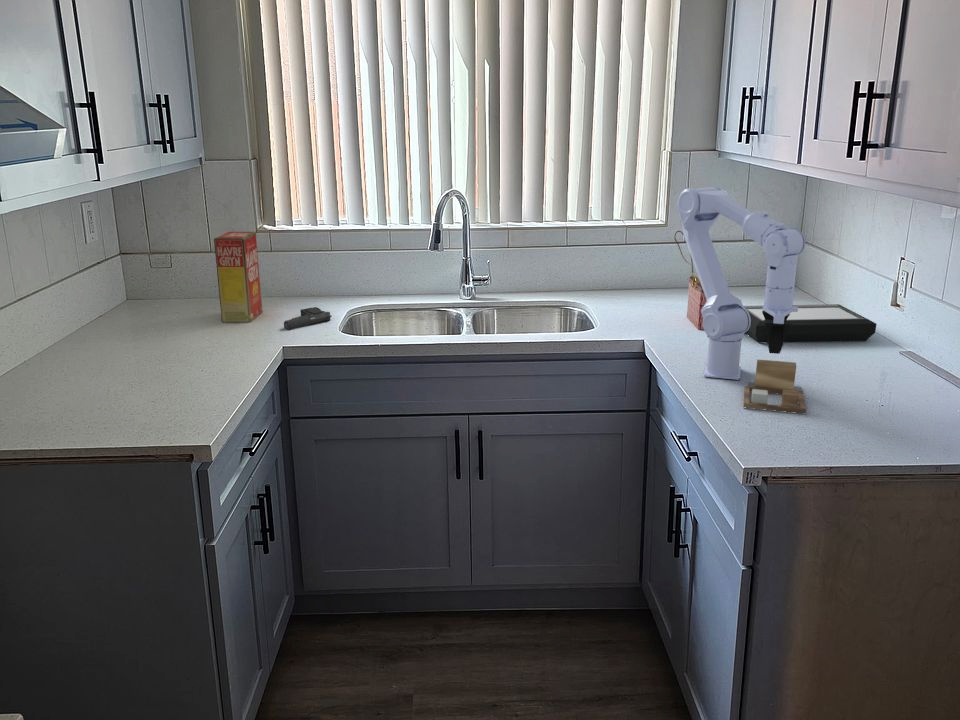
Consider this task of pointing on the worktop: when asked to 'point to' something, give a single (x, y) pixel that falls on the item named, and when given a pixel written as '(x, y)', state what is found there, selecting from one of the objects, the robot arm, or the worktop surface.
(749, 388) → the frame
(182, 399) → the worktop surface
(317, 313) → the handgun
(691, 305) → the handbag
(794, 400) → the offcut dark
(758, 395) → the offcut grey
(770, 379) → the oak board
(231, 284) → the food packaging
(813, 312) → the electronic device
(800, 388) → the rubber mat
